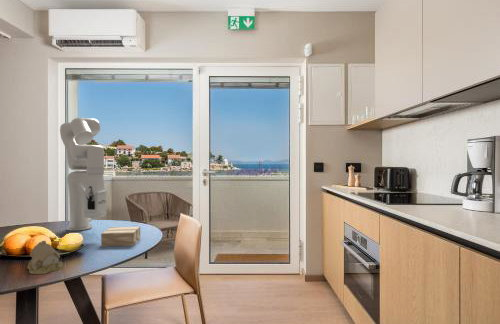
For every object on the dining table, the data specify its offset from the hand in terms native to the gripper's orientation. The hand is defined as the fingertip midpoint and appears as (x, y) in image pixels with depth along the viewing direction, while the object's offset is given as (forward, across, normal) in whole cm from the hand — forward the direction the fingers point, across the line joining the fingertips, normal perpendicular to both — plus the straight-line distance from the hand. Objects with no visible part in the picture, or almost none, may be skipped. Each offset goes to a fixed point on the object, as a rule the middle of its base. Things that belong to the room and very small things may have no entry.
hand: (95, 207), depth 170 cm
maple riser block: (+15, +5, +15) cm, 22 cm away
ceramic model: (+14, +43, +2) cm, 45 cm away
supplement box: (+5, 0, 0) cm, 5 cm away
